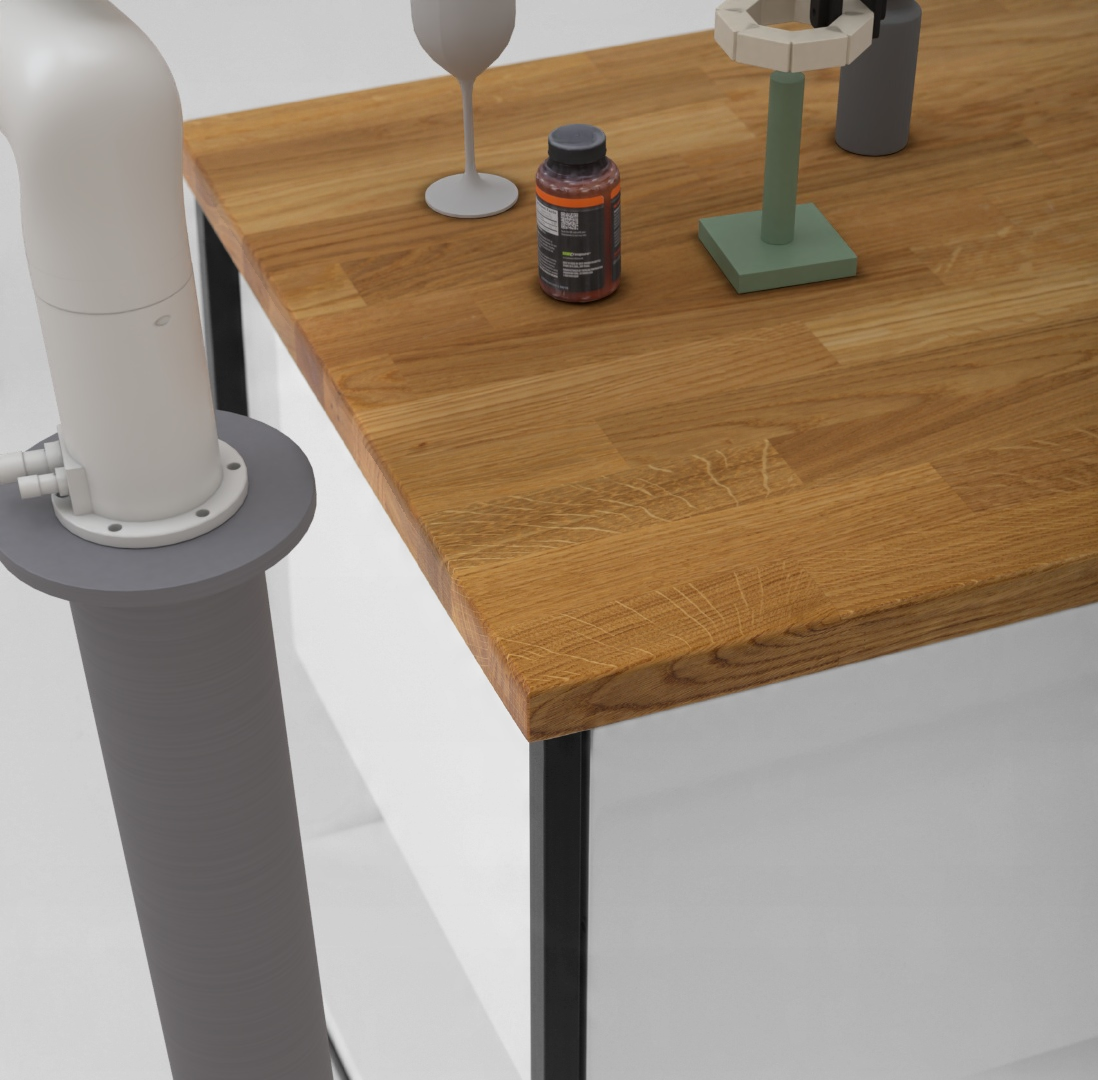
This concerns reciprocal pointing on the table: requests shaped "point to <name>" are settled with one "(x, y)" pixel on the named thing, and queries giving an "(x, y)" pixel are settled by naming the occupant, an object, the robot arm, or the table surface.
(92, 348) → the robot arm
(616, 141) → the table surface
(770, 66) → the ring
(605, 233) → the supplement bottle
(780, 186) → the stand
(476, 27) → the wineglass
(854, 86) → the bottle
